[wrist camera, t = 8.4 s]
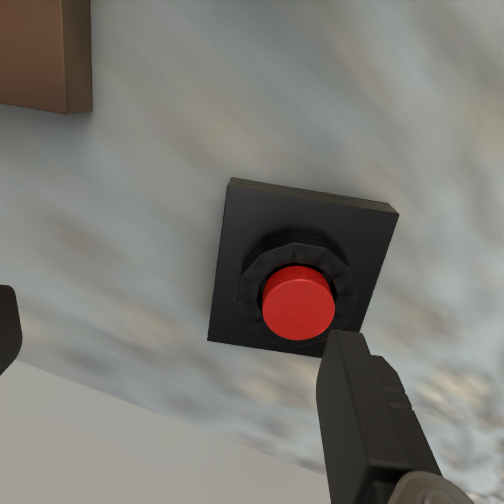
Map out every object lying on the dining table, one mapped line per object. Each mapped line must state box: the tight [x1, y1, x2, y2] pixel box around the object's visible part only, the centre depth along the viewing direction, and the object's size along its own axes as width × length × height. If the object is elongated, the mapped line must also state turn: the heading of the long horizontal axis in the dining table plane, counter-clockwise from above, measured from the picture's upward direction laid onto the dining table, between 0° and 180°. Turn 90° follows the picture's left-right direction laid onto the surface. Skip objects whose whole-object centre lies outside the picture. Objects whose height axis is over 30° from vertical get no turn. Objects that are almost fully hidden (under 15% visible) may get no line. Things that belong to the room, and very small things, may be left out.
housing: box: [207, 178, 399, 358], centre depth 23 cm, size 11×10×4 cm
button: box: [262, 266, 335, 340], centre depth 21 cm, size 4×4×2 cm
